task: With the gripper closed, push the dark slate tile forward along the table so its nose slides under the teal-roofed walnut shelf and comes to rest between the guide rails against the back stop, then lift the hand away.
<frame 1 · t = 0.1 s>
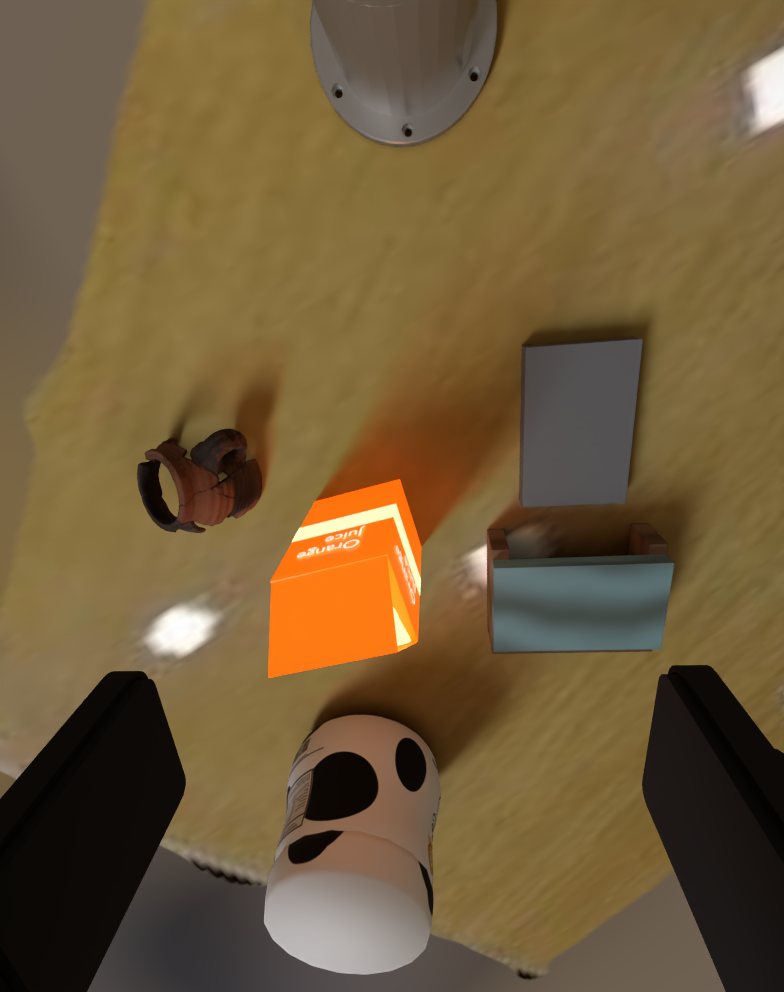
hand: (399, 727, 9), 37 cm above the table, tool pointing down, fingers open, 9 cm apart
slate tile: (570, 422, 44), on the table
shelf dock: (563, 571, 49), on the table
pottery mug: (219, 465, 48), on the table
milk container: (369, 751, 61), on the table
orange juice: (369, 523, 49), on the table
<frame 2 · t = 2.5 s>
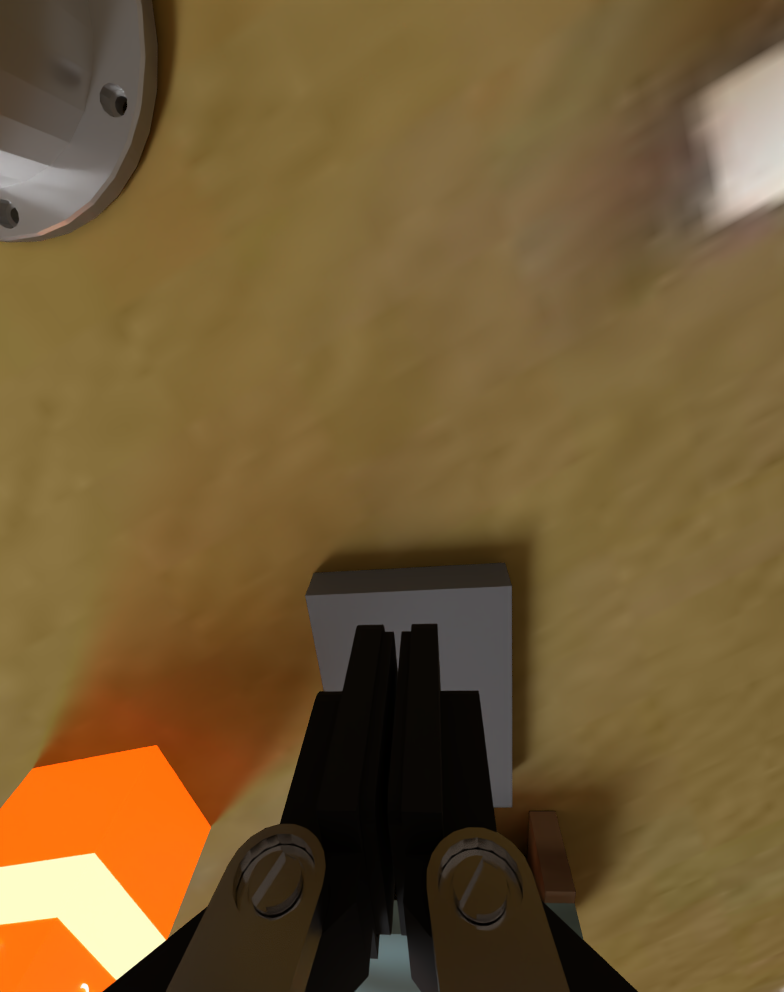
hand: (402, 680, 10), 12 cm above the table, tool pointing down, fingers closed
slate tile: (419, 675, 26), on the table
shelf dock: (431, 863, 32), on the table
orange juice: (125, 795, 31), on the table
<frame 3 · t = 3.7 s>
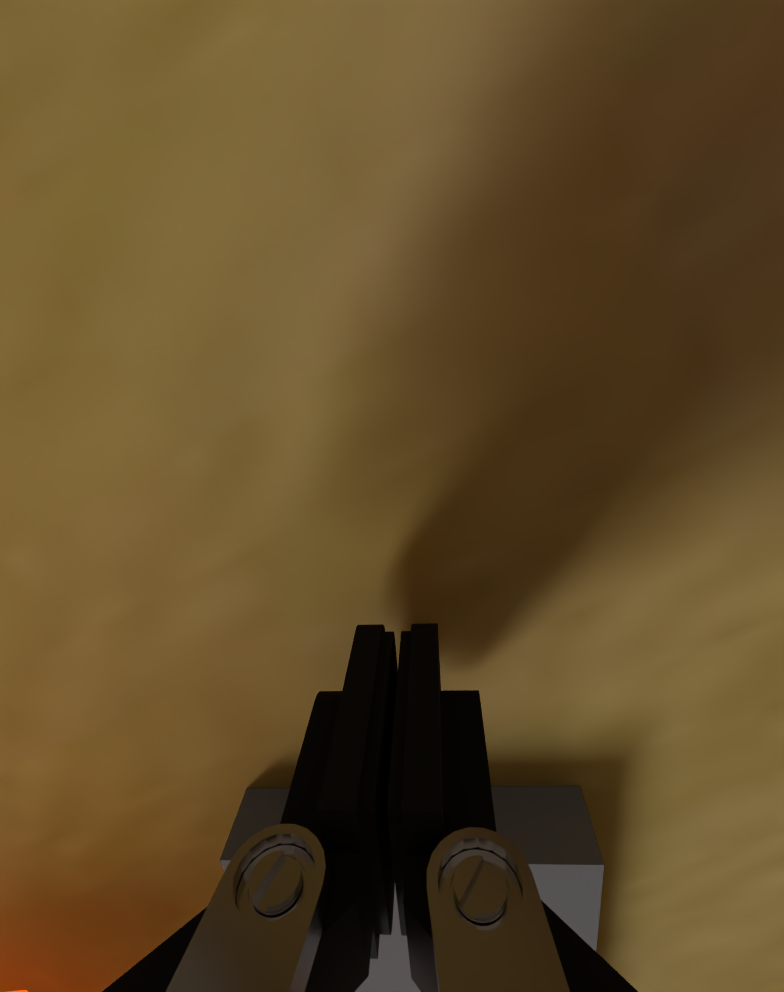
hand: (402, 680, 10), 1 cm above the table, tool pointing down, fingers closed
slate tile: (427, 921, 16), on the table
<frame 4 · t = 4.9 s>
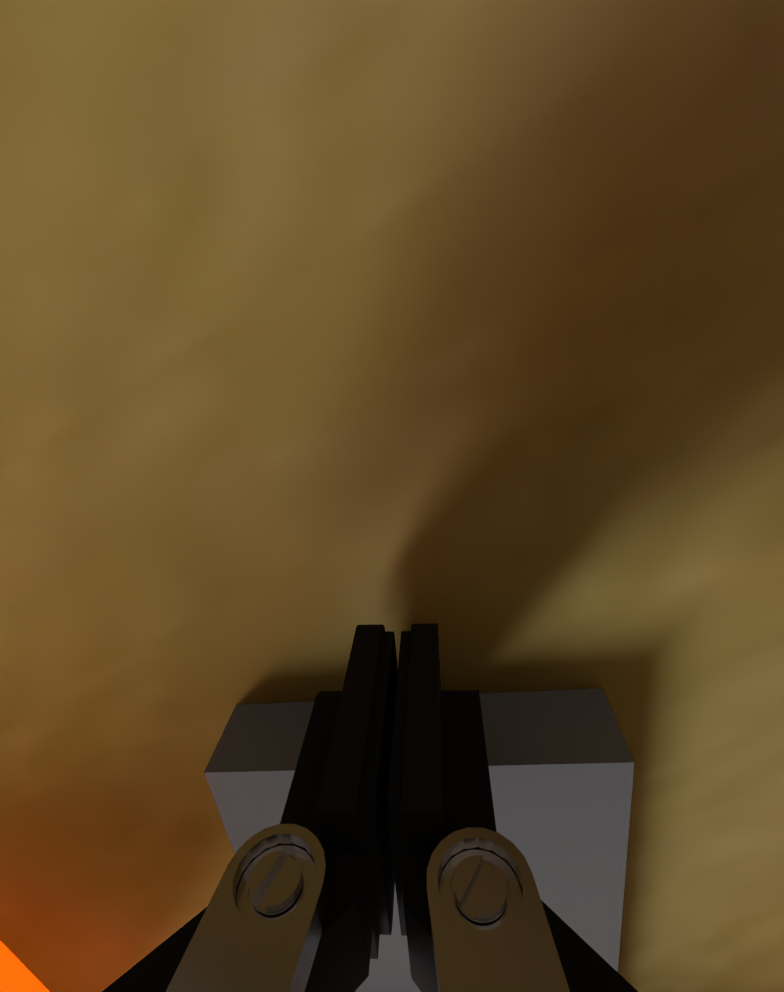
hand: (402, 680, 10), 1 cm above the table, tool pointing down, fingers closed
slate tile: (437, 861, 15), on the table, touching gripper
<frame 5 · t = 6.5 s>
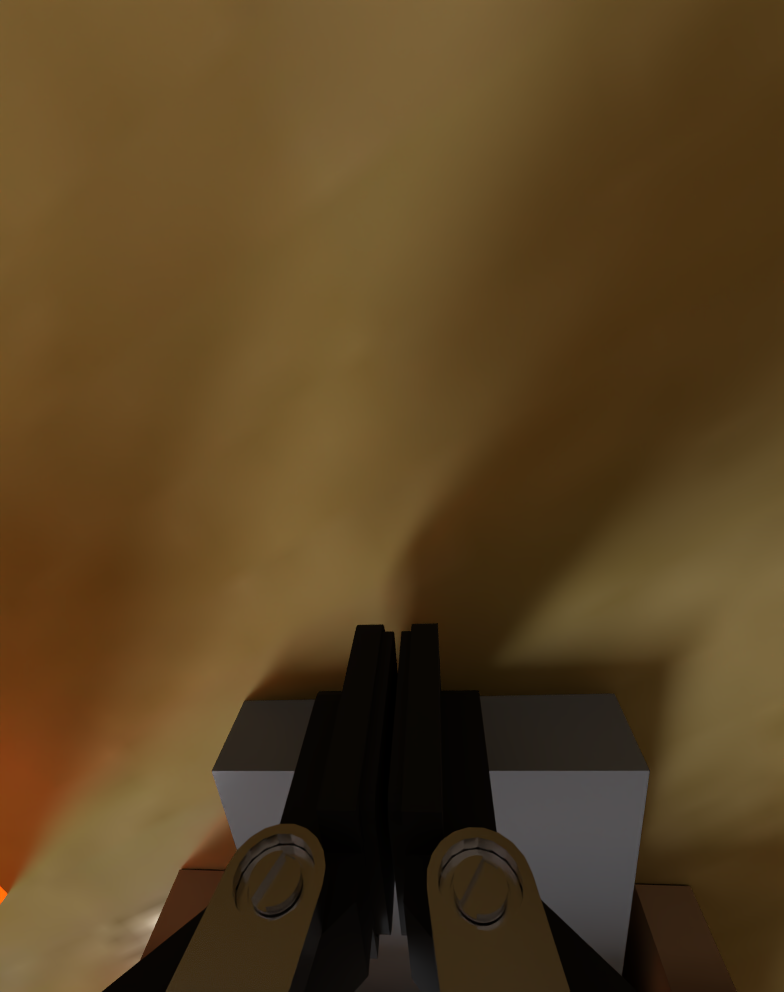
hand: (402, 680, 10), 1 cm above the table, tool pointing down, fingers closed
slate tile: (439, 866, 15), on the table, touching gripper
shelf dock: (429, 973, 16), on the table
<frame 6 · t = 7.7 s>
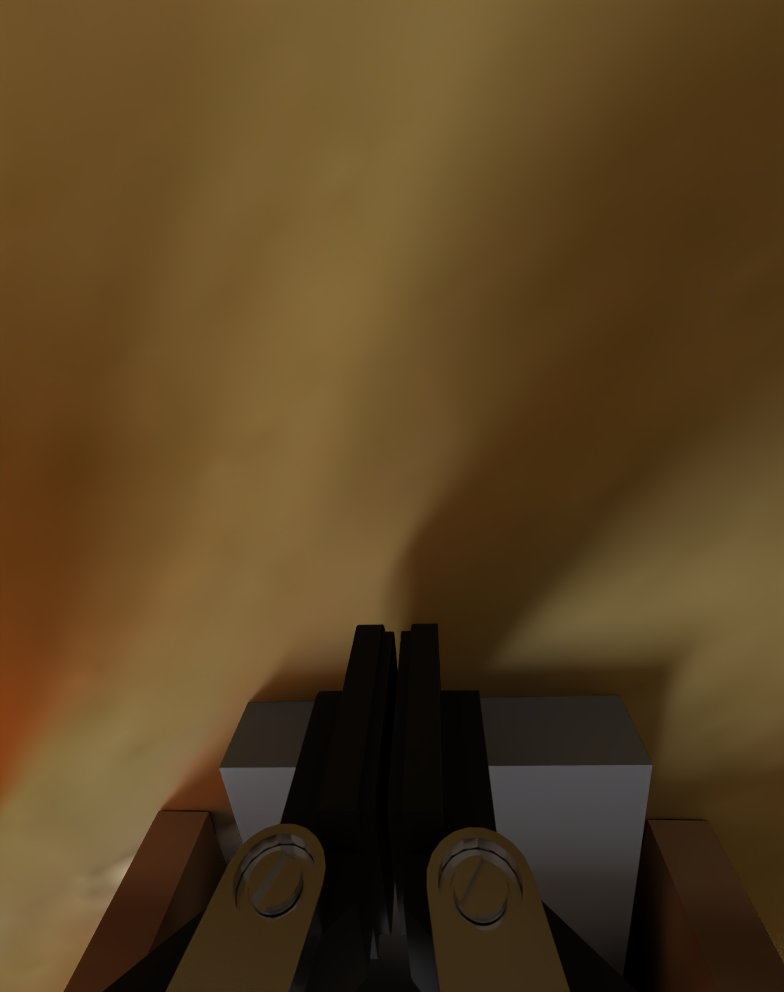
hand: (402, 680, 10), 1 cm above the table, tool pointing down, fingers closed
slate tile: (442, 862, 15), on the table
shelf dock: (427, 925, 15), on the table
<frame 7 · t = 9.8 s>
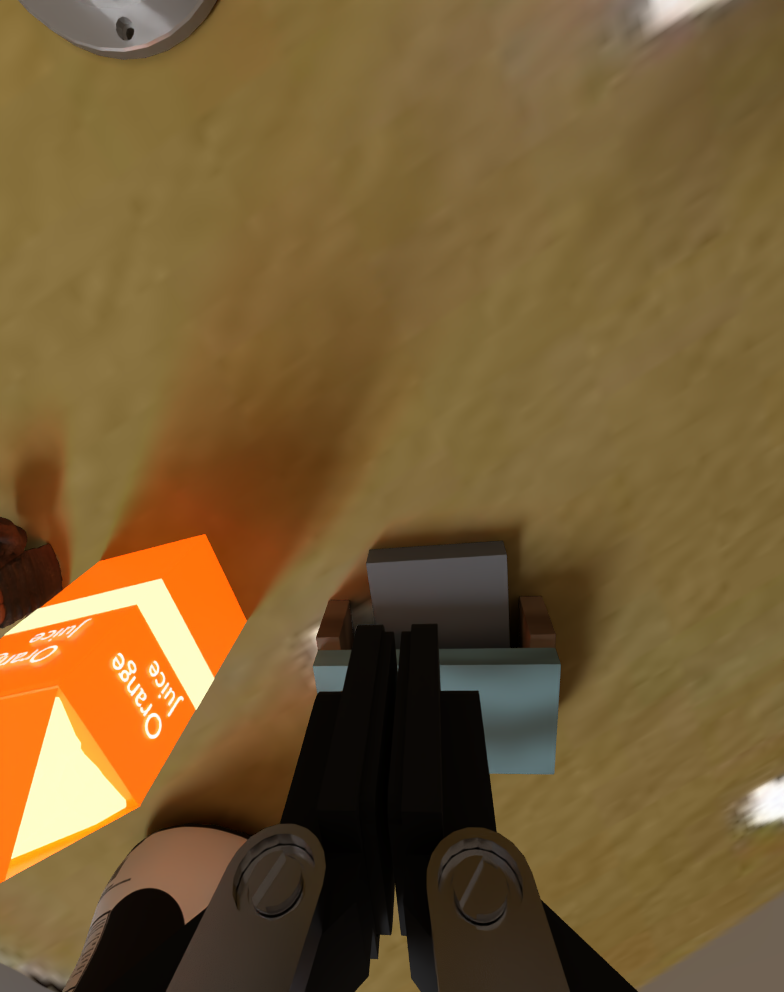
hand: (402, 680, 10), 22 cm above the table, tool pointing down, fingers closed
slate tile: (442, 626, 36), on the table
shelf dock: (436, 655, 37), on the table
pottery mug: (9, 551, 36), on the table
milk container: (221, 863, 48), on the table
orange juice: (175, 590, 36), on the table
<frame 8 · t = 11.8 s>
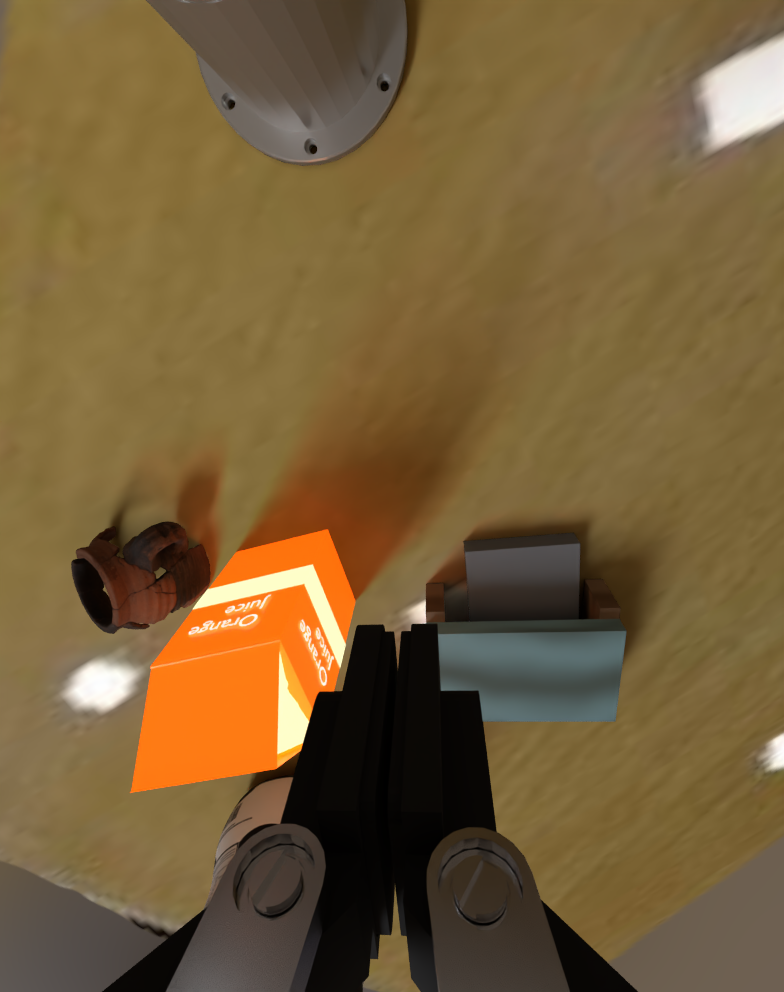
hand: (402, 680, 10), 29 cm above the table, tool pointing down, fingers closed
slate tile: (519, 604, 44), on the table
shelf dock: (512, 629, 44), on the table
pottery mug: (164, 550, 44), on the table
milk container: (311, 812, 56), on the table
orange juice: (297, 576, 44), on the table
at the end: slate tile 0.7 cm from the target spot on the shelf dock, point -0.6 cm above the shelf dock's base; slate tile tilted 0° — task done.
